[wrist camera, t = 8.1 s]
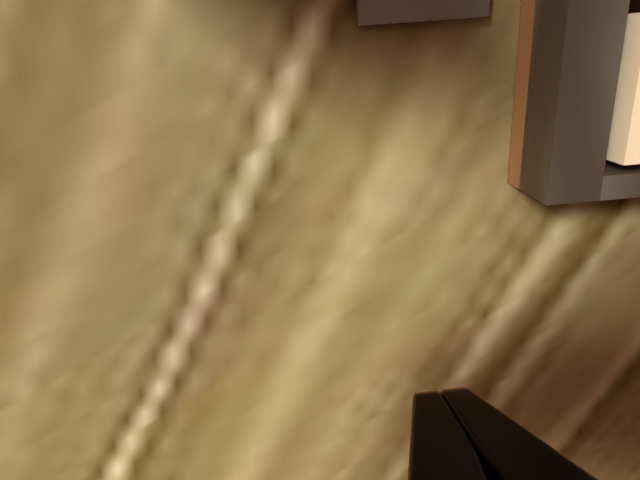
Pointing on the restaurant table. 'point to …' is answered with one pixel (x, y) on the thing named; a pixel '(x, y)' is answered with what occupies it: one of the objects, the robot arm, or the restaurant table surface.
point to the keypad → (569, 101)
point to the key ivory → (627, 100)
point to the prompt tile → (418, 10)
